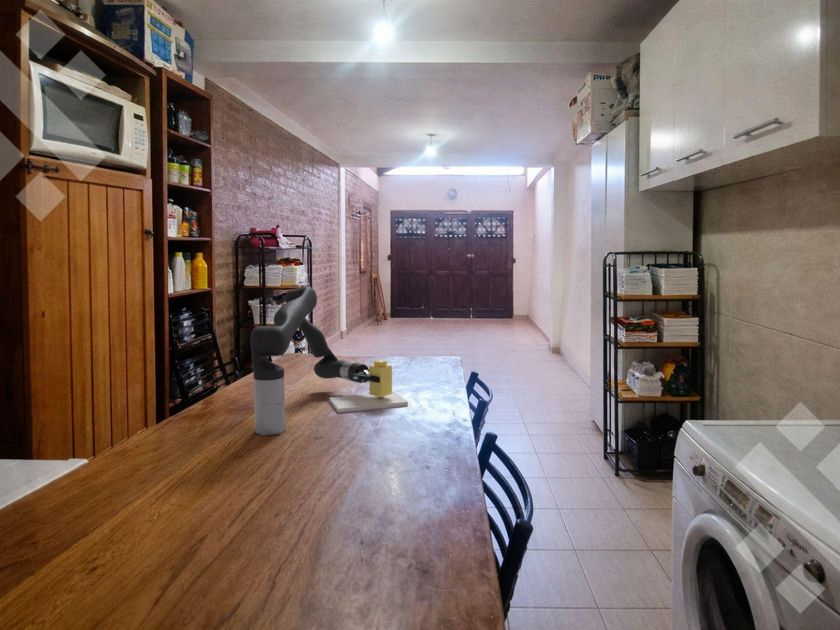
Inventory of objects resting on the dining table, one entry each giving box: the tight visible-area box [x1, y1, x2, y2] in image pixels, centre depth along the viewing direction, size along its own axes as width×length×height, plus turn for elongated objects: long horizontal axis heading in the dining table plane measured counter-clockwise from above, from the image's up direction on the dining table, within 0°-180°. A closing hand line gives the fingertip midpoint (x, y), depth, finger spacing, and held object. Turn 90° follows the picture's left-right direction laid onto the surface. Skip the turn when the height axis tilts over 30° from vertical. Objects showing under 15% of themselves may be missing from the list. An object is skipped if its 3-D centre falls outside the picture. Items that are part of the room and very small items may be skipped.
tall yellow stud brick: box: [368, 359, 393, 397], centre depth 198 cm, size 6×6×13 cm
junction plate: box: [328, 391, 409, 414], centre depth 196 cm, size 16×26×8 cm, turn 111°
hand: (385, 378), depth 196 cm, fingers closed on tall yellow stud brick, 6 cm apart
